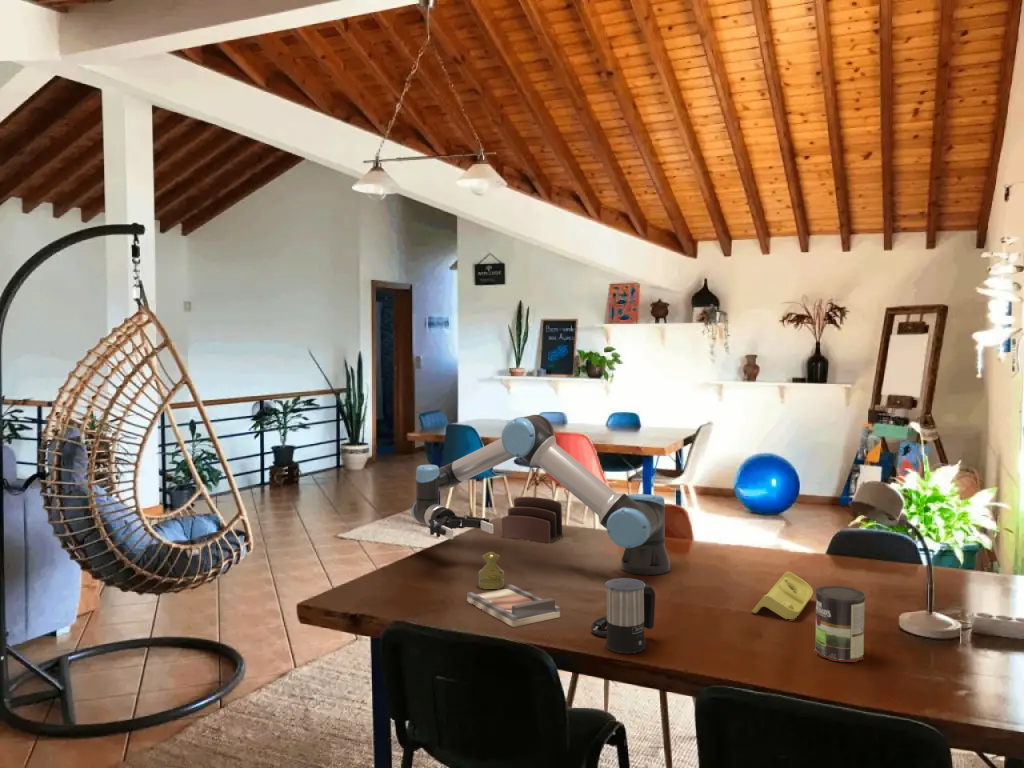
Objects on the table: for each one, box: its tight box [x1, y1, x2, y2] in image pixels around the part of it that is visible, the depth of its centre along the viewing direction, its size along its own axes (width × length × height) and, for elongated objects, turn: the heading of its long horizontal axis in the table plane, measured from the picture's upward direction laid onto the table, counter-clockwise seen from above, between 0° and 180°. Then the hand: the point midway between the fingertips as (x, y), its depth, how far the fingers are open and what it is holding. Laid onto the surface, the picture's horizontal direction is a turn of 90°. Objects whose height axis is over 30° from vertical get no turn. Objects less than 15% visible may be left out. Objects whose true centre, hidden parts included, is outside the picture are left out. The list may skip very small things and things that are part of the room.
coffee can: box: [814, 585, 866, 660], centre depth 184 cm, size 10×10×14 cm
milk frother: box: [590, 577, 656, 654], centre depth 193 cm, size 14×16×15 cm
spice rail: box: [466, 584, 561, 628], centre depth 217 cm, size 24×14×4 cm, turn 31°
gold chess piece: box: [478, 551, 505, 590], centre depth 237 cm, size 7×7×10 cm
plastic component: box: [751, 571, 814, 620], centre depth 216 cm, size 20×7×10 cm
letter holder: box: [501, 496, 563, 544], centre depth 296 cm, size 10×20×14 cm, turn 59°
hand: (472, 531), depth 245 cm, fingers open, 13 cm apart
